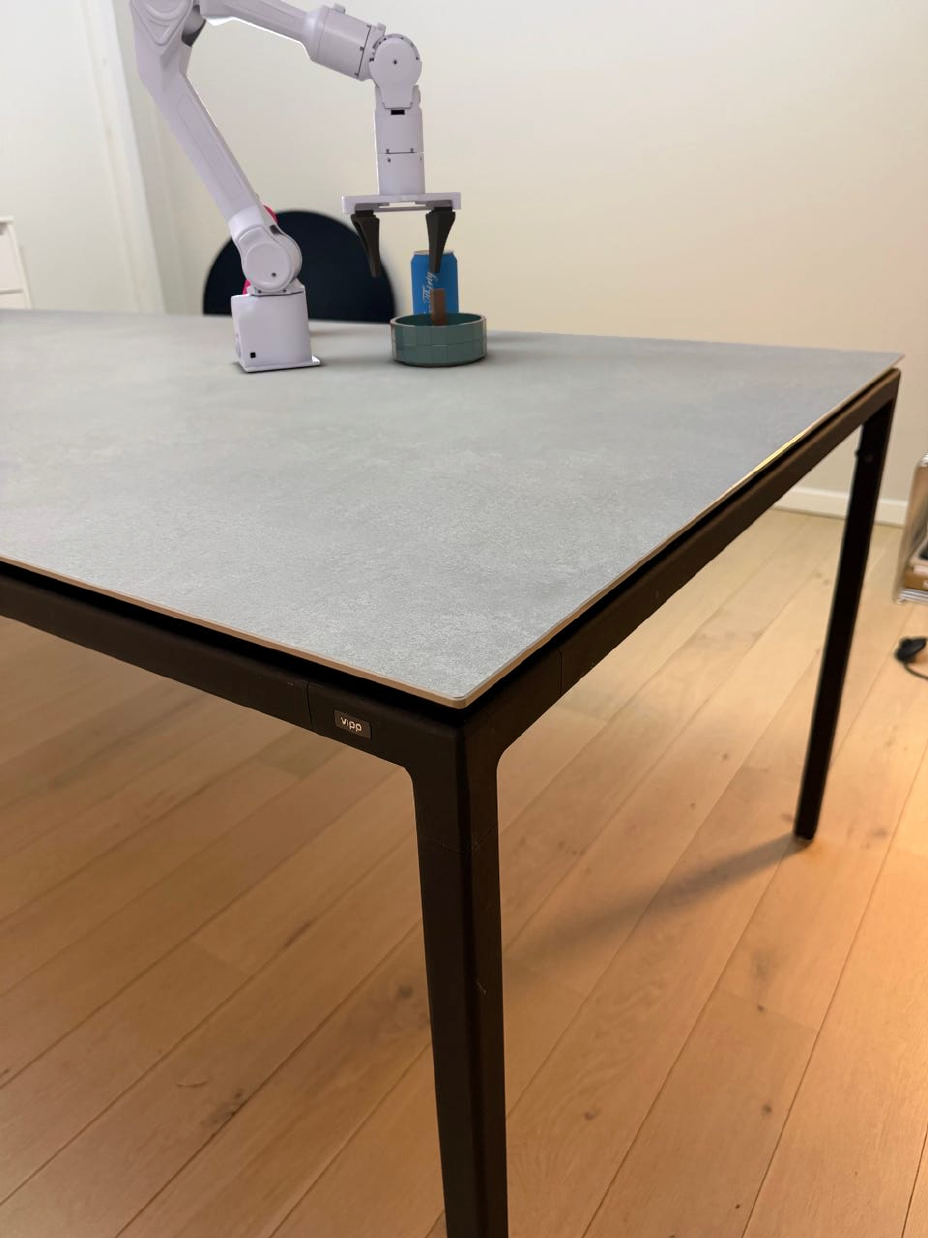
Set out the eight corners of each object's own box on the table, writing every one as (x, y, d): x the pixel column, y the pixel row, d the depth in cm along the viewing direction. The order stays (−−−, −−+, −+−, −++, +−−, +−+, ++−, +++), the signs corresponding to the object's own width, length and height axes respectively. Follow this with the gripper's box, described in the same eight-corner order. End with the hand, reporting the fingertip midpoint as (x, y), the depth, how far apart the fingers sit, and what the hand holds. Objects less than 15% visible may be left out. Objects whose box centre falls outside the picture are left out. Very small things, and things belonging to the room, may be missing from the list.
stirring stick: (436, 355, 118) (433, 290, 115) (432, 353, 119) (429, 288, 116) (447, 354, 119) (445, 289, 115) (443, 352, 120) (441, 287, 116)
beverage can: (409, 344, 129) (404, 253, 124) (421, 337, 135) (417, 249, 130) (453, 345, 128) (450, 252, 123) (464, 337, 134) (461, 248, 128)
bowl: (408, 371, 112) (406, 329, 110) (382, 355, 123) (379, 316, 120) (501, 362, 116) (500, 321, 114) (467, 347, 126) (466, 309, 124)
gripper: (348, 154, 104) (357, 281, 110) (468, 151, 108) (471, 273, 114) (334, 155, 110) (344, 275, 116) (449, 152, 114) (452, 269, 120)
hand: (406, 274), depth 116 cm, fingers open, 7 cm apart
